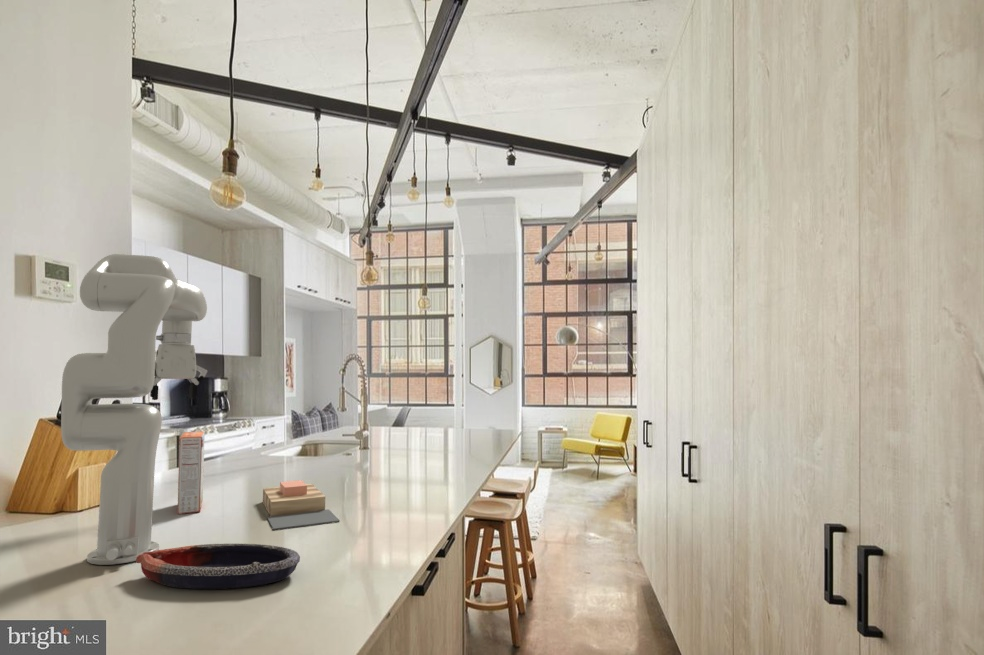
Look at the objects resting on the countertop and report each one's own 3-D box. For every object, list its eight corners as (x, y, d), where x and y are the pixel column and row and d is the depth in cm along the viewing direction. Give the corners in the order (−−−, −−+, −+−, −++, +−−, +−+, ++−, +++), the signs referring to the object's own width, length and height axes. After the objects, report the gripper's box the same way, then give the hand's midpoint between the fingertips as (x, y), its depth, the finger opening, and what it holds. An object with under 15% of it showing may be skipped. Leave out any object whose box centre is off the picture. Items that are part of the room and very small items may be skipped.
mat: (339, 521, 142) (339, 520, 142) (273, 530, 135) (273, 528, 135) (328, 510, 154) (328, 509, 154) (267, 517, 146) (267, 516, 146)
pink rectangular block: (306, 494, 156) (307, 485, 157) (284, 496, 154) (284, 487, 154) (301, 488, 164) (301, 480, 165) (279, 490, 161) (280, 481, 162)
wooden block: (325, 511, 153) (325, 496, 154) (271, 517, 147) (271, 502, 147) (311, 496, 171) (311, 483, 171) (262, 501, 164) (263, 488, 164)
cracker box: (179, 503, 162) (183, 431, 164) (203, 501, 164) (206, 430, 166) (175, 515, 149) (178, 436, 151) (200, 512, 152) (203, 435, 153)
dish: (276, 598, 95) (277, 568, 95) (110, 591, 98) (112, 562, 98) (314, 566, 110) (315, 541, 111) (169, 561, 113) (170, 536, 113)
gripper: (145, 338, 153) (142, 400, 151) (212, 340, 165) (210, 398, 164) (139, 339, 158) (135, 399, 157) (203, 341, 170) (201, 397, 169)
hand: (173, 399), depth 160 cm, fingers open, 9 cm apart
